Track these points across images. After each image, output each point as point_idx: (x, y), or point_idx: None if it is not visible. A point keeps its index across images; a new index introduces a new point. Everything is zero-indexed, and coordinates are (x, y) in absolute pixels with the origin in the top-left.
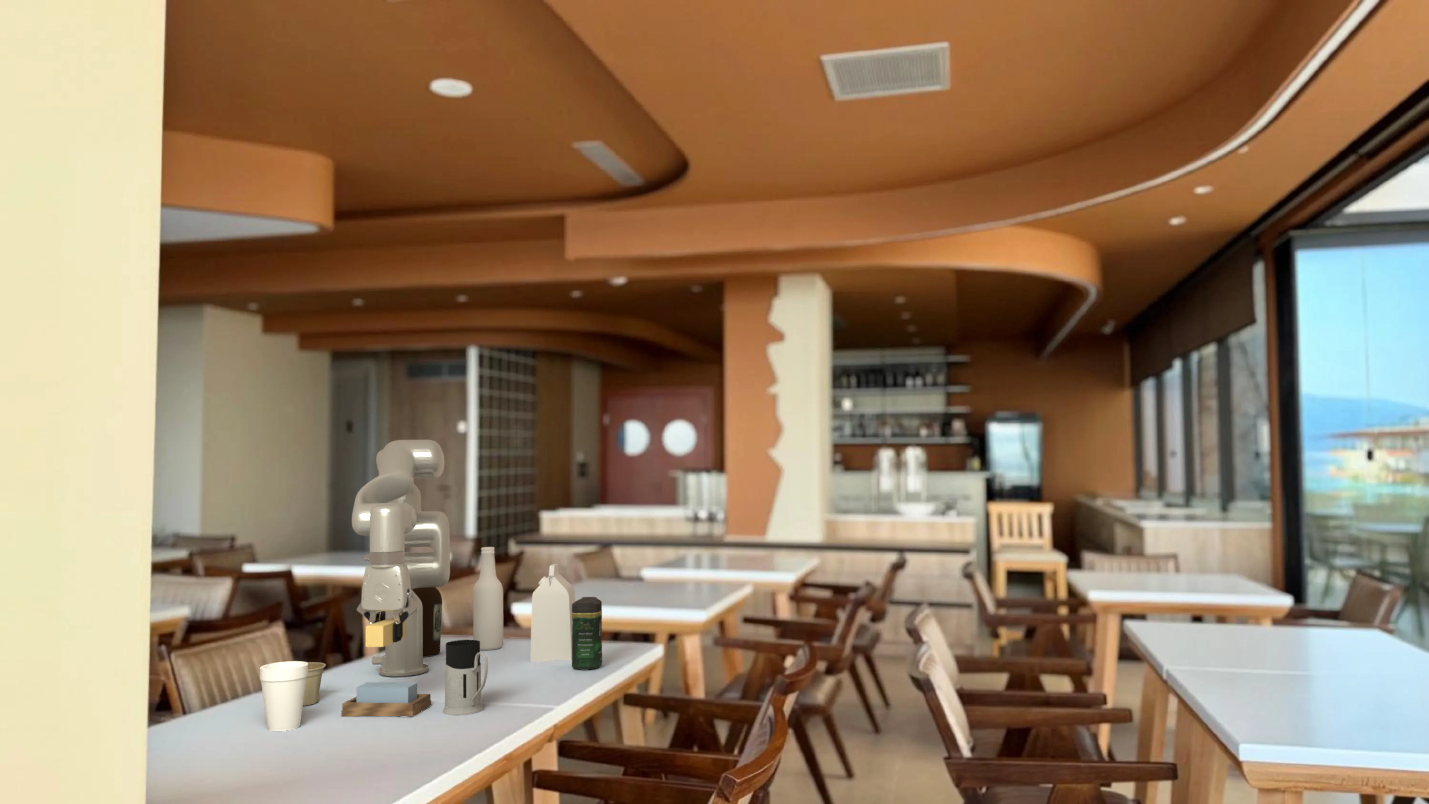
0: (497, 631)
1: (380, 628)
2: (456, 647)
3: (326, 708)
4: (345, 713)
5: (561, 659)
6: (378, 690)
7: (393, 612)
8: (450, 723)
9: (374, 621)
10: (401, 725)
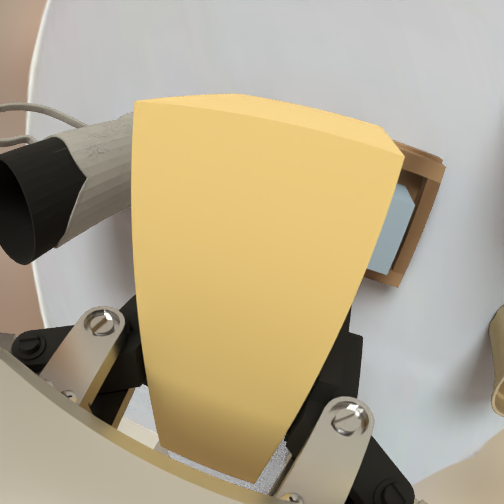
0: None
1: (186, 103)
2: (3, 155)
3: (478, 262)
4: (429, 154)
5: (127, 420)
6: None
7: (80, 397)
8: (136, 42)
9: (320, 414)
10: (241, 20)
